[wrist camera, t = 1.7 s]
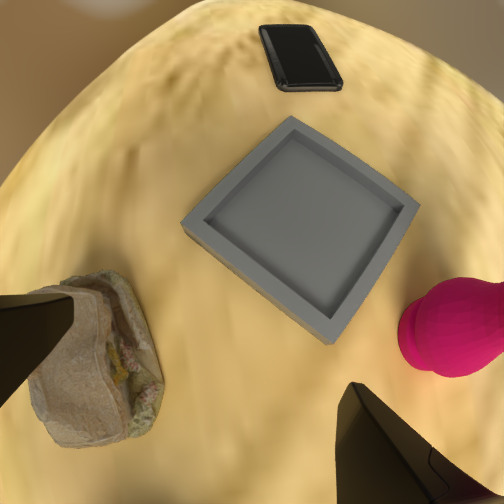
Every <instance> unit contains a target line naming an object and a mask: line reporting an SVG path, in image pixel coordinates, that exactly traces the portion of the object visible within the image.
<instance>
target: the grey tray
mask: <svg viewBox="0 0 504 504" xmlns="http://www.w3.org/2000/svg"><path fill="white" fill-rule="evenodd" d="M419 207H420V204H419V203H418V202H416V201H415V200H414V199H413V198H411V197H410V196H409V195H408V194H406V193H405V192H404V191H403V190H401V189H400V188H399V187H397V186H396V185H395V184H393V183H392V182H391V181H389V180H388V179H387V178H385V177H384V176H383V175H381V174H380V173H379V172H377V171H376V170H375V169H373V168H372V167H370V166H369V165H368V164H366V163H365V162H363V161H362V160H360V159H359V158H357V157H356V156H355V155H353V154H352V153H350V152H349V151H347V150H346V149H344V148H343V147H341V146H340V145H338V144H337V143H335V142H334V141H332V140H330V139H329V138H327V137H326V136H324V135H323V134H321V133H319V132H318V131H316V130H314V129H313V128H311V127H310V126H308V125H306V124H305V123H303V122H301V121H300V120H298V119H296V118H294V117H293V116H290V117H288V118H287V119H286V120H285V121H284V122H283V123H282V124H281V125H280V126H278V127H277V128H276V129H275V130H274V131H273V132H272V133H271V134H270V135H269V136H267V137H266V138H265V139H264V140H263V141H262V142H261V143H260V144H259V145H258V146H257V147H256V148H255V149H254V150H252V151H251V152H250V153H249V154H248V155H247V156H246V157H245V158H244V159H243V160H242V161H241V162H240V163H239V164H238V165H237V166H236V167H235V168H234V169H233V170H232V171H231V172H230V173H229V174H228V175H227V176H225V177H224V178H223V179H222V180H221V181H220V182H219V183H218V184H217V185H216V186H215V187H214V188H213V189H212V190H211V191H210V192H209V193H208V194H207V195H206V196H205V197H204V198H203V200H202V201H201V202H200V203H199V204H198V205H197V206H196V207H195V208H194V209H193V210H192V211H191V212H190V213H189V214H188V215H187V216H186V217H185V218H184V219H183V220H182V221H181V222H180V223H181V225H182V227H183V229H184V231H185V233H186V234H187V235H188V236H189V237H190V238H192V239H193V240H194V241H195V242H197V243H198V244H199V245H200V246H201V247H203V248H204V249H205V250H206V251H208V252H209V253H210V254H211V255H212V256H214V257H215V258H216V259H217V260H219V261H220V262H221V263H222V264H224V265H225V266H226V267H227V268H228V269H230V270H231V271H232V272H233V273H235V274H236V275H237V276H238V277H240V278H241V279H242V280H243V281H245V282H246V283H247V284H248V285H250V286H251V287H252V288H253V289H255V290H256V291H257V292H258V293H260V294H261V295H262V296H264V297H265V298H266V299H267V300H269V301H270V302H271V303H272V304H274V305H275V306H276V307H277V308H279V309H280V310H281V311H283V312H284V313H285V314H286V315H288V316H289V317H290V318H292V319H293V320H294V321H295V322H297V323H298V324H299V325H301V326H302V327H303V328H304V329H306V330H307V331H308V332H310V333H311V334H312V335H314V336H315V337H316V338H317V339H319V340H320V341H321V342H323V343H324V344H325V345H330V344H334V343H335V341H336V340H337V339H338V337H339V336H340V335H341V333H342V332H343V330H344V329H345V328H346V326H347V325H348V323H349V322H350V320H351V319H352V317H353V316H354V315H355V313H356V312H357V310H358V309H359V307H360V306H361V304H362V303H363V301H364V300H365V298H366V297H367V295H368V294H369V292H370V290H371V289H372V287H373V286H374V284H375V283H376V281H377V280H378V278H379V276H380V275H381V273H382V272H383V270H384V268H385V267H386V265H387V263H388V262H389V260H390V258H391V257H392V255H393V253H394V252H395V250H396V248H397V246H398V245H399V243H400V241H401V240H402V238H403V236H404V234H405V232H406V231H407V229H408V227H409V225H410V223H411V222H412V220H413V218H414V216H415V214H416V212H417V210H418V209H419Z"/></svg>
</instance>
